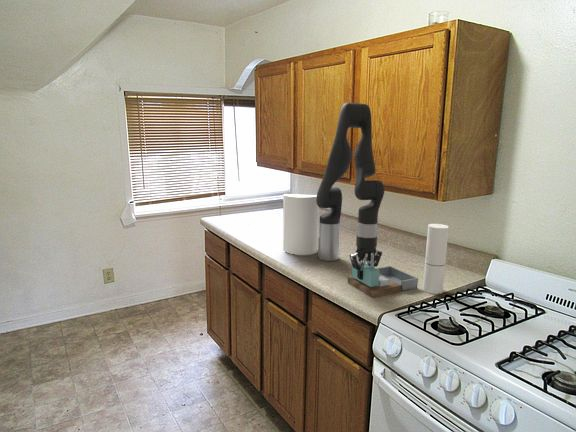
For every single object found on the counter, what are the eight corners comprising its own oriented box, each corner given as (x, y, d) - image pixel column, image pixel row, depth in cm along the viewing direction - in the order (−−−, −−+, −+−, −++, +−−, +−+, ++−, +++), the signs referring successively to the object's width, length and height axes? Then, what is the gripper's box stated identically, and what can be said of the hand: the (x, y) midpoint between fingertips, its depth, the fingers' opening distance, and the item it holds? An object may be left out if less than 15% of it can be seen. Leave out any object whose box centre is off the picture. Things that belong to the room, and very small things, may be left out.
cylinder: (315, 256, 197) (316, 198, 191) (279, 253, 200) (280, 196, 194) (319, 246, 213) (321, 192, 207) (287, 244, 216) (287, 191, 211)
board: (347, 282, 163) (347, 276, 163) (374, 277, 169) (374, 272, 168) (373, 297, 149) (373, 291, 149) (400, 291, 155) (401, 285, 154)
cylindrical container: (438, 286, 160) (444, 223, 155) (445, 293, 153) (452, 228, 148) (420, 286, 160) (425, 223, 155) (426, 293, 153) (432, 228, 148)
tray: (374, 277, 169) (375, 268, 168) (389, 274, 173) (390, 265, 172) (401, 291, 155) (402, 281, 154) (417, 288, 159) (418, 278, 158)
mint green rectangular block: (351, 276, 161) (352, 261, 160) (359, 275, 163) (359, 260, 161) (370, 287, 151) (371, 271, 149) (378, 285, 152) (379, 270, 151)
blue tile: (373, 282, 157) (373, 277, 156) (381, 281, 158) (381, 276, 158) (380, 286, 153) (380, 281, 153) (388, 284, 155) (388, 279, 154)
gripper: (376, 230, 159) (373, 272, 163) (345, 234, 153) (343, 278, 157) (388, 234, 153) (386, 278, 156) (357, 238, 146) (355, 284, 150)
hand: (364, 278), depth 156 cm, fingers closed on mint green rectangular block, 3 cm apart
